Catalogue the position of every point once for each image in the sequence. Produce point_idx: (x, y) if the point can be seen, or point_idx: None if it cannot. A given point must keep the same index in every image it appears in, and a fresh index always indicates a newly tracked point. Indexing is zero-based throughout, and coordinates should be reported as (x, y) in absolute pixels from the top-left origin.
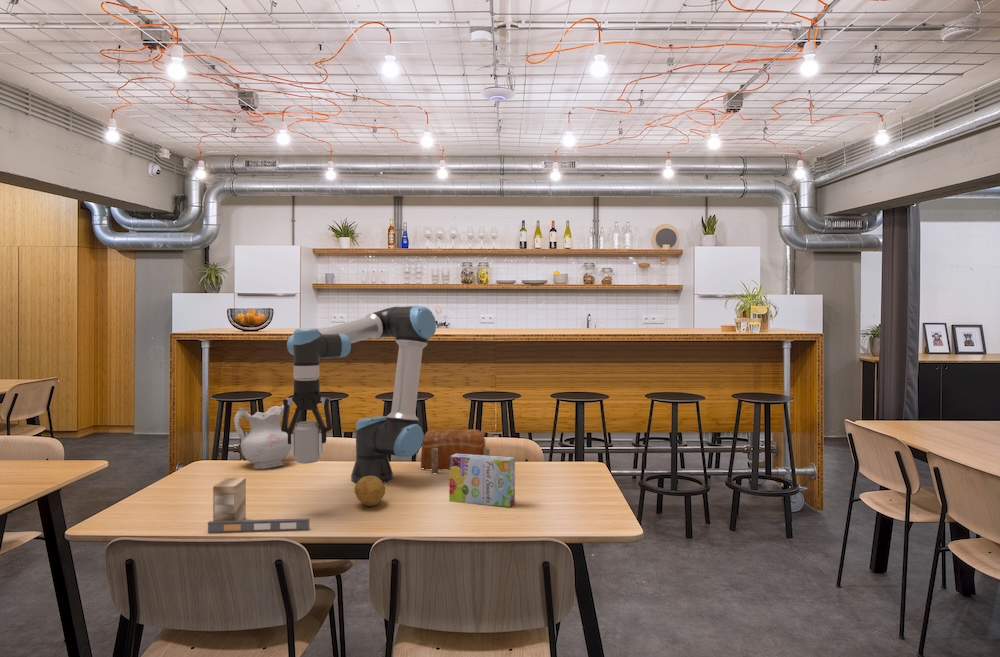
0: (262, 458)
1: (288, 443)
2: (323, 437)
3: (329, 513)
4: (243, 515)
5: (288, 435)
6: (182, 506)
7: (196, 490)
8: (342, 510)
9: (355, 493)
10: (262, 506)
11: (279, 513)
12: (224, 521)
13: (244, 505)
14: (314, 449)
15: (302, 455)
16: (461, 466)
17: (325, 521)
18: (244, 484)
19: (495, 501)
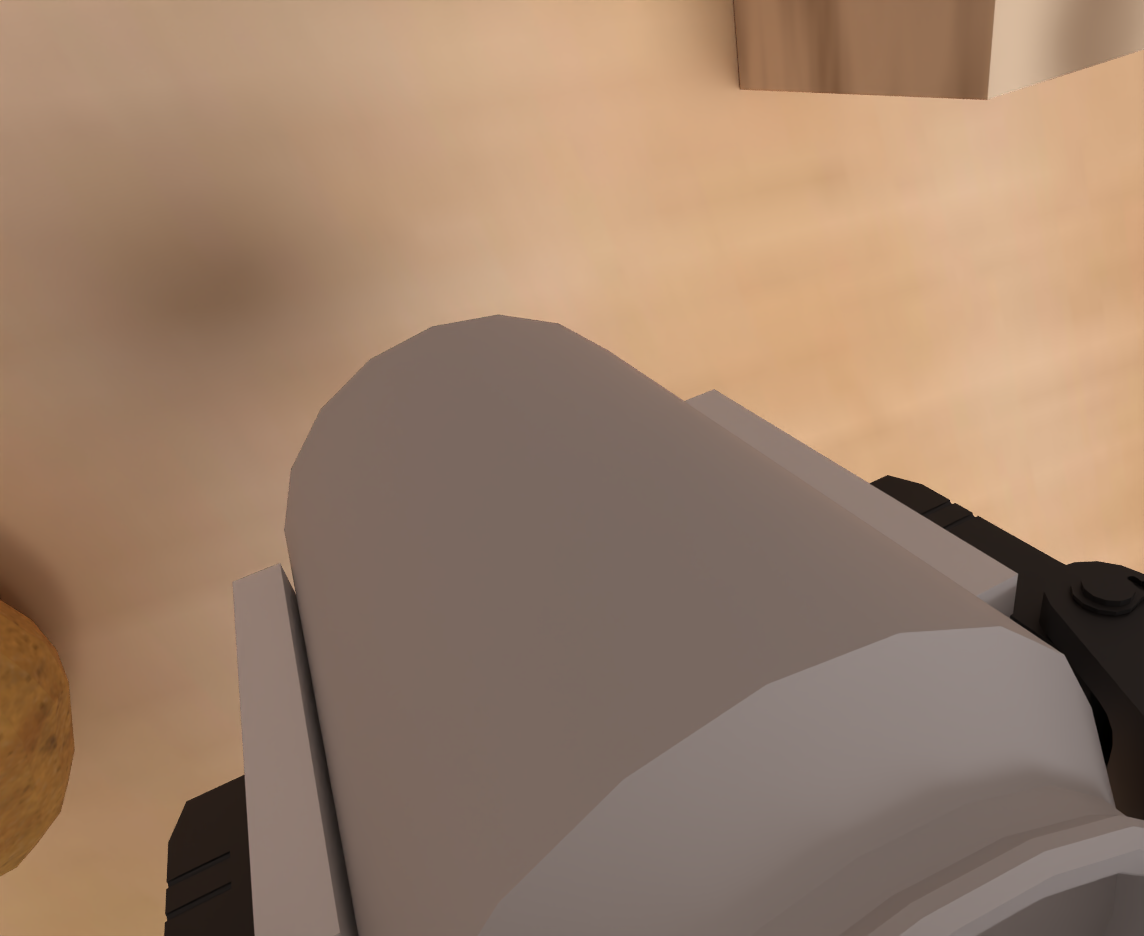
0: None
1: (895, 479)
2: (228, 911)
3: (158, 338)
4: (757, 24)
5: (1033, 562)
6: (1105, 267)
7: (1087, 522)
8: (94, 442)
9: (5, 616)
10: (730, 374)
11: (562, 251)
12: None
13: (804, 54)
14: (333, 531)
15: (507, 350)
16: None
17: (26, 89)
18: (942, 48)
19: None
